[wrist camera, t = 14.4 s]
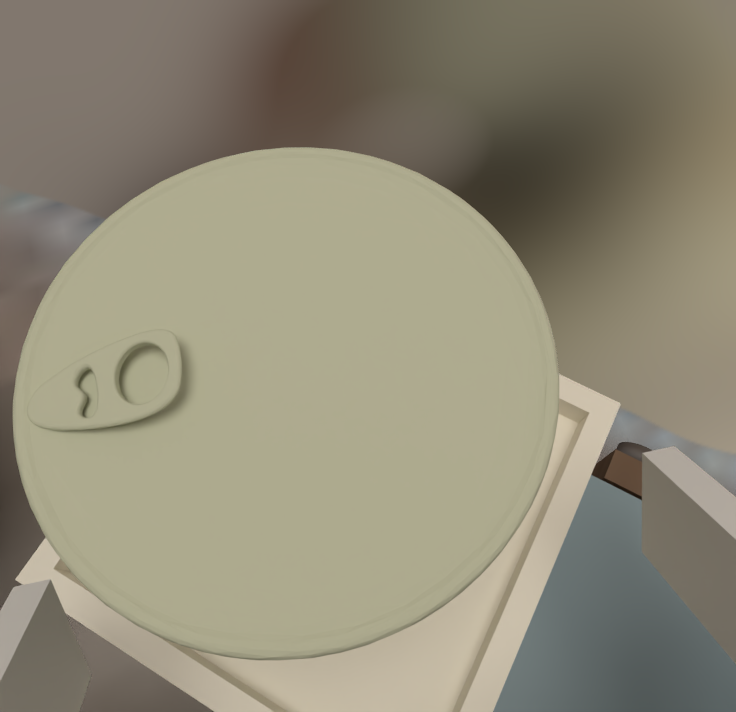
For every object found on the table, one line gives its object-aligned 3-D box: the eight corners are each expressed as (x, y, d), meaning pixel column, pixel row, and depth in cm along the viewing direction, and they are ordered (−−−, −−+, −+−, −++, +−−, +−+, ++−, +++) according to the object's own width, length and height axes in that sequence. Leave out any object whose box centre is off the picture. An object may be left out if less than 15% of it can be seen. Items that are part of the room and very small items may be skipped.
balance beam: (66, 586, 22) (-99, 565, 14) (278, 280, 27) (239, 139, 19) (972, 1176, 16) (1515, 1674, 9) (1038, 654, 21) (1426, 672, 13)
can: (177, 393, 23) (-8, 172, 12) (428, 342, 23) (478, 87, 12) (209, 676, 19) (-17, 745, 8) (502, 605, 20) (667, 579, 9)
